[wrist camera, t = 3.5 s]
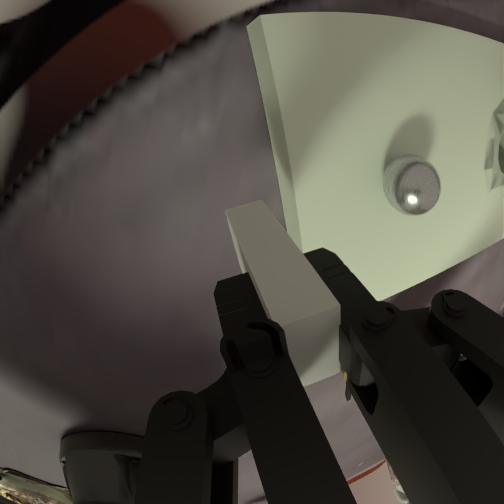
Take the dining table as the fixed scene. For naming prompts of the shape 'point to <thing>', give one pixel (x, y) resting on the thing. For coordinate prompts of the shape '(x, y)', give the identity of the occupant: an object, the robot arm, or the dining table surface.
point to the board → (383, 137)
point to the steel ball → (411, 185)
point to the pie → (31, 490)
